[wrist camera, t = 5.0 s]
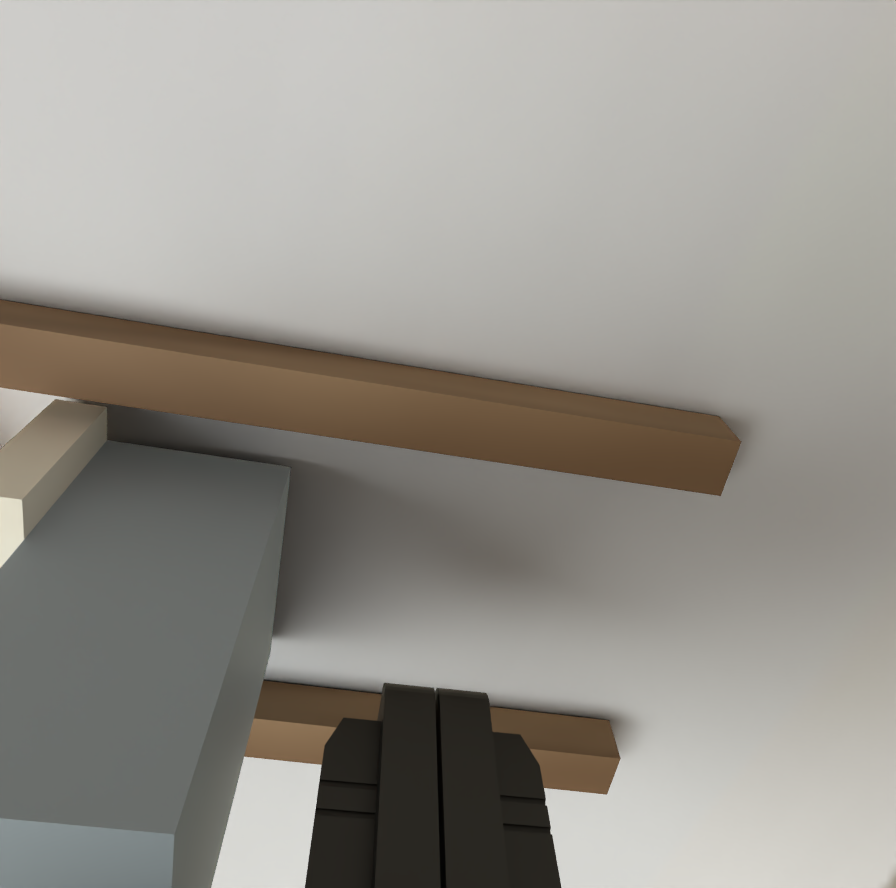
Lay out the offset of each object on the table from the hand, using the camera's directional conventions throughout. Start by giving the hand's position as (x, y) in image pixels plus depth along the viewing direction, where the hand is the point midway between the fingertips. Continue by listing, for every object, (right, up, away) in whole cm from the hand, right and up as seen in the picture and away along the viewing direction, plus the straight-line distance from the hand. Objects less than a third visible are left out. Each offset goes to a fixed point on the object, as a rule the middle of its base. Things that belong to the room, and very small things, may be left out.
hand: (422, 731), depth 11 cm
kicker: (-4, +2, +3) cm, 5 cm away
